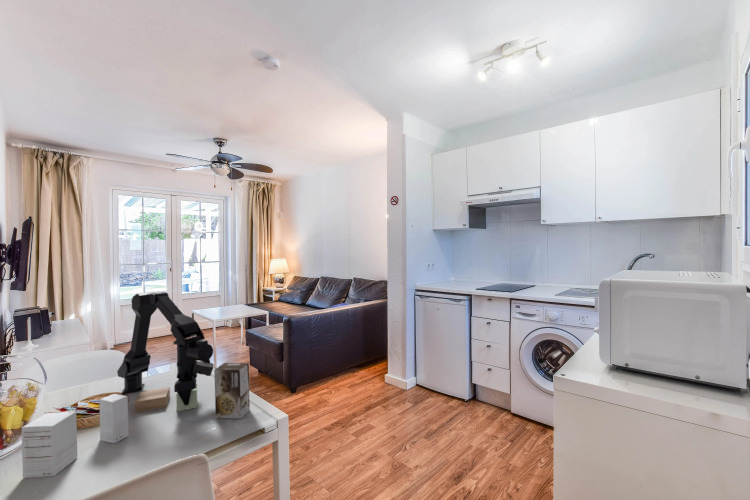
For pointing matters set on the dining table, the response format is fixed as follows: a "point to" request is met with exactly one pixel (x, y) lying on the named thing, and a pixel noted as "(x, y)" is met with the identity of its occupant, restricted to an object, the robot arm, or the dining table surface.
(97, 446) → the dining table surface
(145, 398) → the walnut block
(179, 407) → the sage cube
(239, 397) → the grey cardboard box
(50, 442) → the supplement box
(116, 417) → the skincare box
